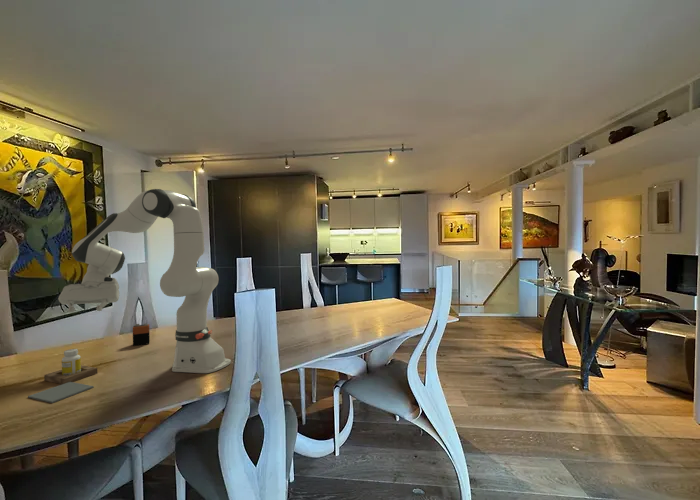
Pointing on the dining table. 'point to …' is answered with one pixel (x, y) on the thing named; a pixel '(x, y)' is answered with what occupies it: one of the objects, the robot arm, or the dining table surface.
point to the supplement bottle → (71, 362)
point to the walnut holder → (63, 379)
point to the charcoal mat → (60, 392)
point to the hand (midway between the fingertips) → (84, 310)
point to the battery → (141, 334)
